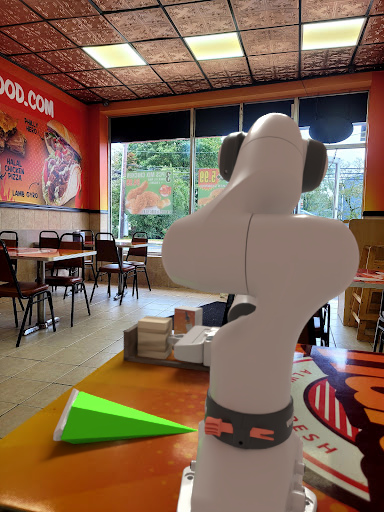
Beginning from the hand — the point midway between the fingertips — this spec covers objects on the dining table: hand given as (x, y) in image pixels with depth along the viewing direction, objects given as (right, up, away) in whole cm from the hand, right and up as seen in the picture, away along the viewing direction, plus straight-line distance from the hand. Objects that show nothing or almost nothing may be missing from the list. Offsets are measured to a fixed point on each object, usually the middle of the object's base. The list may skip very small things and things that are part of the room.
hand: (168, 338), depth 100 cm
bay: (+1, -6, 0) cm, 6 cm away
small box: (+5, -5, +20) cm, 21 cm away
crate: (-4, -5, +1) cm, 6 cm away
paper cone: (-6, -9, -34) cm, 35 cm away
